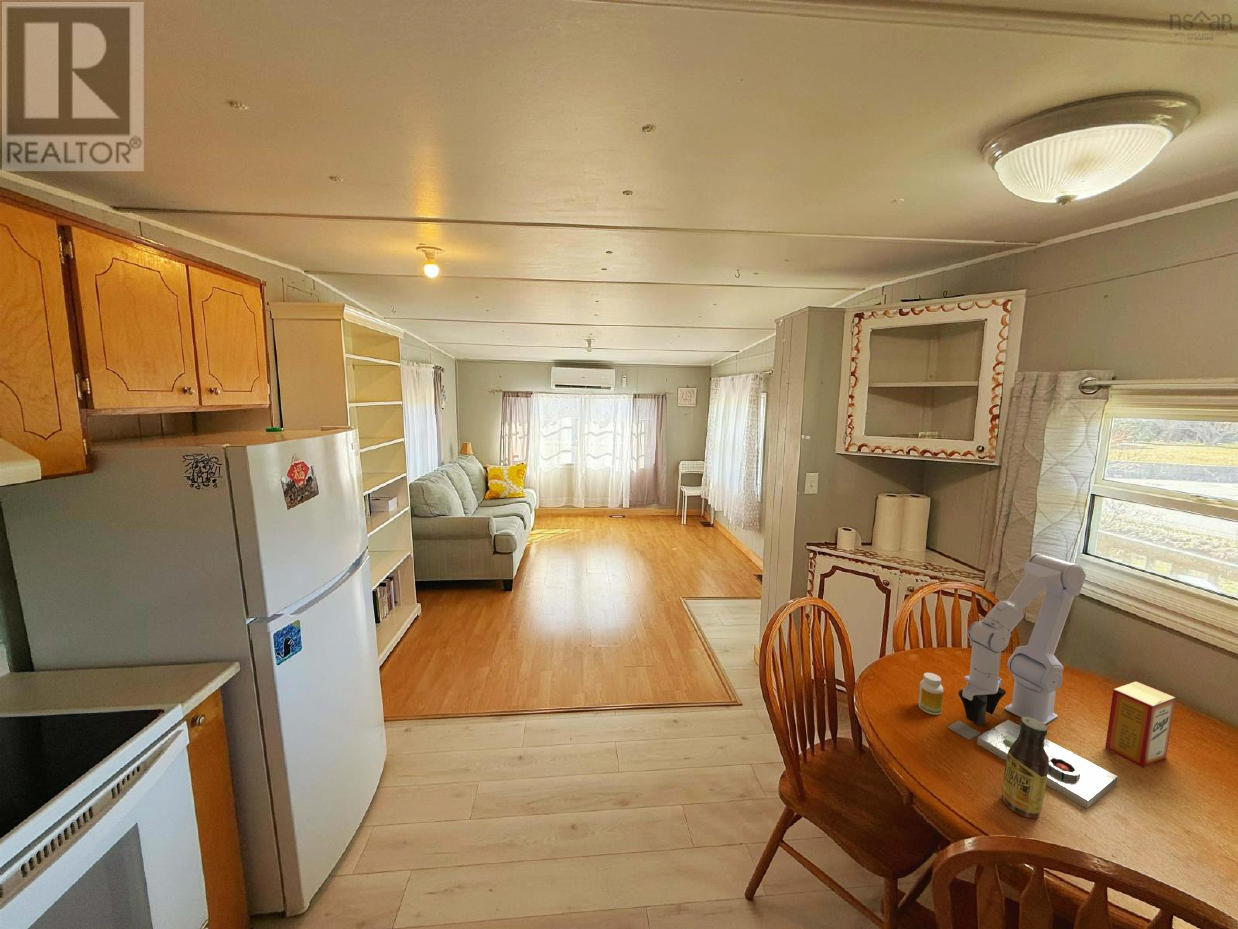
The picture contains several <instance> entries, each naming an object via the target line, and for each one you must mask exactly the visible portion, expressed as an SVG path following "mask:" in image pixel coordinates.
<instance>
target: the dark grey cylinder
mask: <svg viewBox="0 0 1238 929" xmlns="http://www.w3.org/2000/svg"><path fill="white" fill-rule="evenodd" d="M978 697H979V699H980V700H982V701H984V702H986V704H985V705H984V706H983V708H982V710H981V712H980V716H979V719H978V721H977V723H975V724H976V725H978V726H981V727H982V726H985V724H986V713H987V712H986V705H987V695H978Z"/></svg>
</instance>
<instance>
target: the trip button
mask: <svg viewBox="0 0 1238 929" xmlns="http://www.w3.org/2000/svg"><path fill="white" fill-rule="evenodd" d="M1056 767H1057V768H1059V769H1061V770H1063V771H1067V772H1068V771H1069V769H1068V767H1067V766H1065V765H1063V764H1060V763H1057V764H1056Z"/></svg>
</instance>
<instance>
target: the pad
mask: <svg viewBox="0 0 1238 929" xmlns="http://www.w3.org/2000/svg"><path fill="white" fill-rule="evenodd" d="M1016 740H1017V739H1016V738H1014V737H1013V736H1011V735H1010V736H1008V737H1006V738H1005V743H1006V744H1008V745H1009V746H1012V745H1013V743H1014V742H1015V741H1016Z"/></svg>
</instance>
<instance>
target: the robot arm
mask: <svg viewBox="0 0 1238 929" xmlns="http://www.w3.org/2000/svg"><path fill="white" fill-rule="evenodd" d="M1023 571H1024V575H1023V577H1022V578H1021V579H1020V581H1019V582H1018V584H1017V585H1016V587H1015V588H1014V589H1013V591H1012V592H1011V594H1010V596H1009V597H1008V598H1007V600H1001V601H997V602H996V604H995V605H994V606H993V607H992V609H991V610H990V611H989V612H988V613H987V614H986V615H985V617H984V618H983V619H982V620H981V621H974V622H973V623H972V624H971V625H970V626H969V628H968V630H967V634H966V635H967V637H968V639H969V642H970V643H969V645H970V648H971V656H970V668H969V669H970V670H969V674H968V675H965V676H964V680H965V681H966V682H967V683H966V685H965V687H964V688H963V689H959V690H958V696H959V698H960V699H961V702H962V704H963V707H964V712H965V716H966V719H967V720H969V721H971V722H972V723H974V724H976V723H977V721H978V719H979V716H980V712H981V710H982V708H983V706H984V705H985V704H986V702H984V701H982V700H980V699H979V697H978V695H987V705H986V713H988V714H989V715H993V714H994V712H995V711H996V708H997V706H998V704H999V702H1000V701H1001V699H1002V698H1003V697H1004V696H1005V695H1006V694H1007V691H1006V690H1005V689H1004V688H1001V687H1002V686H1003V678H1001V677H999V674H1000V665H1001V655H1002V652H1003V651H1004V650H1006V648H1007V647H1008V646H1009V644H1010V638H1011V637H1012V633H1011V632H1013V631H1014V629H1015V628H1016V627H1017V625H1018V624H1019V623H1020V622H1021V621H1022V620H1023V619H1024V618H1025V617H1024V616H1025V615H1024V609H1025V608H1026V607H1027V606H1028V605H1029V604H1030V603H1032V602H1033V601H1034V599H1036V598H1037V597H1039V595H1040V594H1041V593H1042V592H1043V591H1044V590H1045V595H1044V597H1043V600H1042V603H1041V605H1040V606H1041V607H1040V608H1039V612H1038V615H1037V617H1036V621H1035V623H1034V626H1033V629H1032V631H1031V635H1030V636H1029V640H1028V643H1027V644H1026V645H1019V646H1016V647H1015V648H1014V651H1013V653H1012V654H1011V655H1010V657H1008V659H1007V668H1008V670H1009V672H1010V673H1011V677H1012V678H1013V679H1014V684H1013V693H1012V701H1011V703H1010V704H1008V705H1006V706H1004V710H1005V711H1007V712H1008V713H1009V712H1010V713H1011V714H1013V715H1015V716H1017V717H1019V718H1020V719H1021V718H1022V717H1031V718H1034V719H1037V720H1039V721H1040V722H1042V723H1044V724H1045V725H1047V724H1049V723H1050V722H1051V721H1053V720H1055V719H1056V718H1058V717H1059V715H1058V714H1056V713H1054V709H1055V703H1056V702H1055V701H1056V691H1058V690H1059V689H1060V688H1061V687H1062V684H1063V671H1064V668H1065V667H1064V666H1063V664H1062V663H1061V662H1060V661H1059V659H1058V658H1057V657H1056V656H1055V652H1056V649H1057V646H1058V644H1059V641H1060V639H1061V635H1062V633H1063V630H1064V628H1065V627H1064V626H1065V624H1066V621H1067V619H1068V616H1069V613H1070V610H1071V607H1072V604H1073V601H1074V599H1075V597H1078V596H1079V595H1080V594H1081V590H1082V588H1083V586H1084V583H1085V579H1086V576H1087V575H1086V573H1085V571H1084V569H1083V567H1082V566H1081V565H1080V564H1078V563H1075V562H1074V563H1073V562H1068V561H1065V560H1062V559H1058V558H1056V557H1051V556H1049V555H1044V554H1043V553H1040V552H1038V553H1037V552H1036V553H1033V554H1032V555H1030V556H1029V557H1028V558H1027V559H1026V562H1025V563H1024V565H1023Z"/></svg>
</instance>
